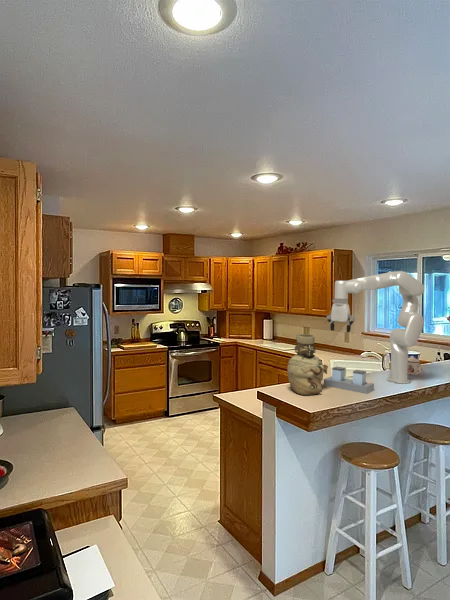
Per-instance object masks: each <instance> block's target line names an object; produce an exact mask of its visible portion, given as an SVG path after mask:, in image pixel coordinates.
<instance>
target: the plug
mask: <svg viewBox="0 0 450 600" xmlns="http://www.w3.org/2000/svg"><path fill="white" fill-rule="evenodd" d="M331 369H332V370H331V376H332V380H336V381H343V380H344V378H345V377H346V376H345V374H346V370H345V369H346V368H345V367H342V366H333V367H332V368H331Z"/></svg>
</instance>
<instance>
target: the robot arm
mask: <svg viewBox="0 0 450 600" xmlns="http://www.w3.org/2000/svg"><path fill="white" fill-rule="evenodd" d="M394 286H395V287H397V286H398V291H399V293H400V295H401V297H402V299H403V300H402V301H403V302H402V307H401V309H400V312H399V315H398V317H397V324H398V325H399V326H401V327H402V328H395V329H392V330H391V331H390V334H389V343H390V365H389V366H390V370H389V371H390V372H389V376H388V377H386V378H387V379H386V381H388V382H391V383H394V384H410V382H411V380H410V379H409V378H408V374H407V373H408V358H409V349H408V348H410V347H414V346H416V344H417V343H418V341H419V339H420V337H421V333H422V330H423V328H424V325H425V323H424V317H423V315H422V314H420V313H418V309H419V305H420V304H419V298H418V297H420V296H422V295H423V293H424V291H425V286H424V284H423V283H422V282H421V281H419V280H418V279H417V278H415V277H414V276H412V275H411V274H409V273H408V272H406V271H402V270H394V271H388V272H383V273H379V274H374V275H369V276H364V277H360V278H358V277H357V278H353V279H349V280H335V282H334V299H332V300H331V301H332V302H333V304H332V306H331V311H330V313H329V314H327V315H326V319H327V321H328V323H329V324H330V328H329V329H330V331H335V322H341V323H342V322H343V323H346V324H347V325H346V333H350V332H351V330H352V329H351V328H352V327H351V326H352V325H353V324H354V323H355V321H356V317H355V316H353V315H351V310H350V309H351V308H350V305H349V294H359V293H361V292H363V291H368V290H369V291H372V290H375V291H376V290H381V289H385V288H390V287H391V288H392V287H394ZM404 328H405V329H404Z"/></svg>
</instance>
